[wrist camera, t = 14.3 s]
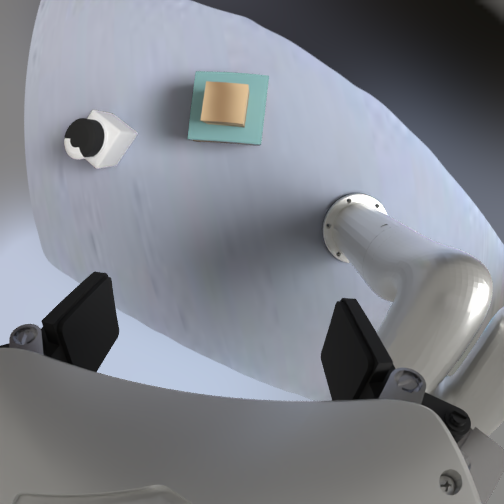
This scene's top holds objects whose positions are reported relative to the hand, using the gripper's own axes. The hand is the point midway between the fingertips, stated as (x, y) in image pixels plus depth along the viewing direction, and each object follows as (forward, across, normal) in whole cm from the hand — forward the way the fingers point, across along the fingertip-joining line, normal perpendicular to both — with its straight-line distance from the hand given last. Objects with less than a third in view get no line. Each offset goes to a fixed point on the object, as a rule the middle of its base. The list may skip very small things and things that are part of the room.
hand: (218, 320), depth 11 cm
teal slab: (+33, +3, -13) cm, 35 cm away
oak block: (+29, +3, -12) cm, 31 cm away
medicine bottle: (+36, +24, -8) cm, 44 cm away
